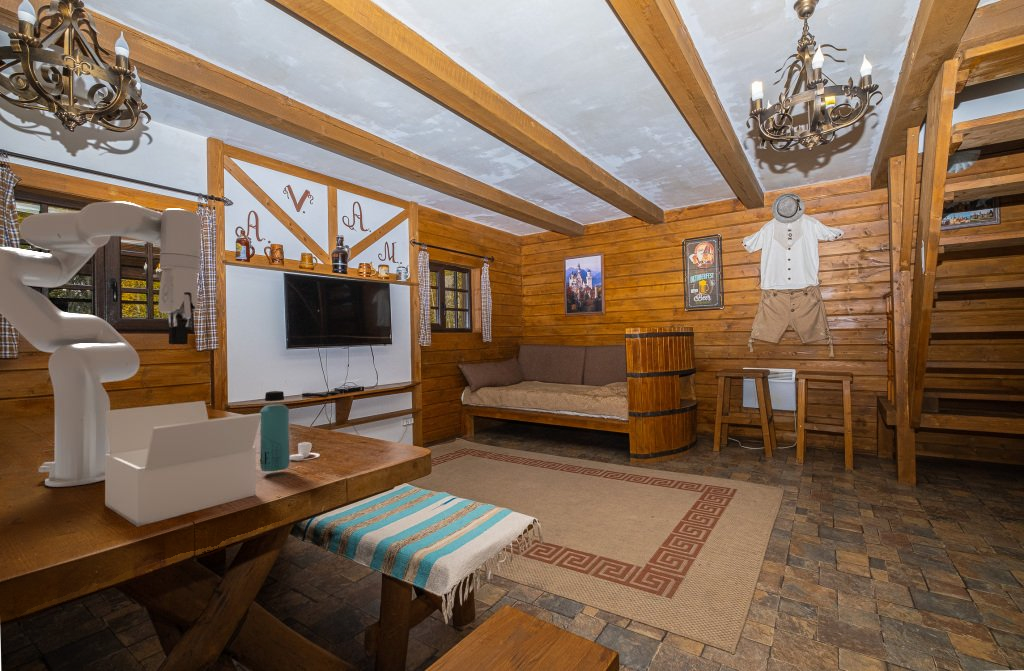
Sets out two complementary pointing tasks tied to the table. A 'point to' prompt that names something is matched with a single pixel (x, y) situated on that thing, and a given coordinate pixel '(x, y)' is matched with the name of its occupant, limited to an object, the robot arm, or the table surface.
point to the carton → (175, 484)
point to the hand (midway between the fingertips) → (178, 344)
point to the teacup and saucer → (303, 452)
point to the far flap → (147, 423)
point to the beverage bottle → (274, 434)
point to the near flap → (201, 440)
